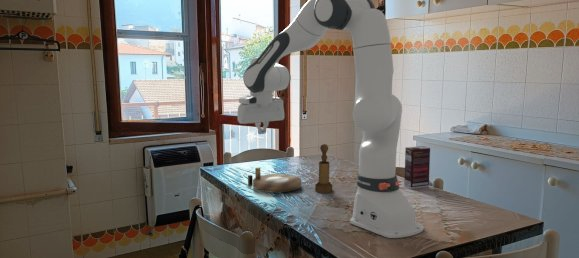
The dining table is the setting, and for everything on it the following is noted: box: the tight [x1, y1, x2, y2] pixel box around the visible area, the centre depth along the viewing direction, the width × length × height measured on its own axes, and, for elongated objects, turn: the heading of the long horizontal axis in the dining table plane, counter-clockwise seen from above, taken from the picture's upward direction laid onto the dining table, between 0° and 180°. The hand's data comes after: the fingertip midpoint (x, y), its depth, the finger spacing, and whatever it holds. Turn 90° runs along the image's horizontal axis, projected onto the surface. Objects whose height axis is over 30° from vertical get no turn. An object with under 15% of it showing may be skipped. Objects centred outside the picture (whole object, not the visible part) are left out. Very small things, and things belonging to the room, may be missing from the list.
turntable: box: [252, 167, 302, 193], centre depth 162 cm, size 19×19×6 cm
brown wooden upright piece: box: [314, 143, 333, 194], centre depth 157 cm, size 7×6×18 cm
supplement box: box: [403, 145, 431, 190], centre depth 162 cm, size 9×5×16 cm, turn 109°
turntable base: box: [247, 174, 254, 187], centre depth 163 cm, size 15×15×4 cm
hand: (262, 133), depth 164 cm, fingers closed
